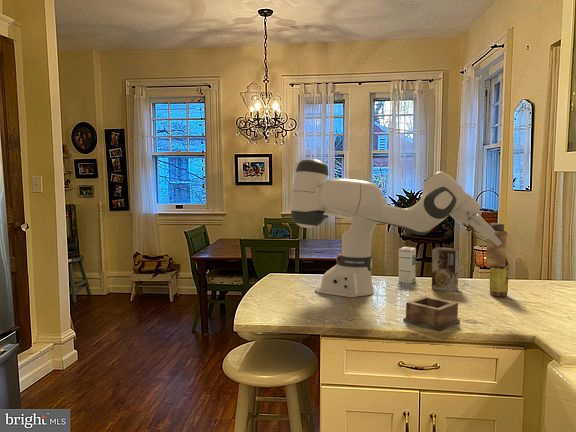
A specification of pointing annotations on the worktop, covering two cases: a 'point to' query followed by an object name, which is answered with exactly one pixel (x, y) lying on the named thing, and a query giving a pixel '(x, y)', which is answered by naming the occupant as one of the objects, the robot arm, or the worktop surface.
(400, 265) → the syrup box
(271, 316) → the worktop surface
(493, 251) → the cylinder
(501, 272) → the sauce bottle
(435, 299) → the socket
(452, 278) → the coffee box
